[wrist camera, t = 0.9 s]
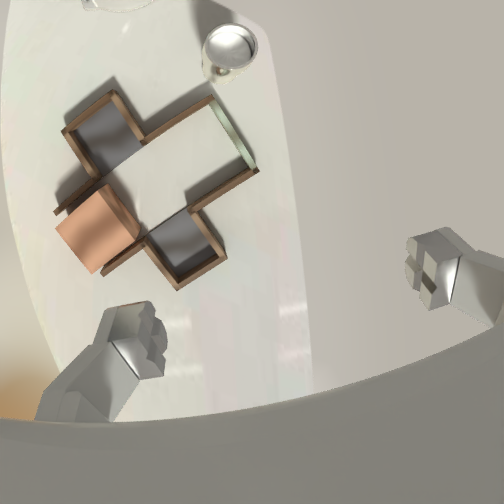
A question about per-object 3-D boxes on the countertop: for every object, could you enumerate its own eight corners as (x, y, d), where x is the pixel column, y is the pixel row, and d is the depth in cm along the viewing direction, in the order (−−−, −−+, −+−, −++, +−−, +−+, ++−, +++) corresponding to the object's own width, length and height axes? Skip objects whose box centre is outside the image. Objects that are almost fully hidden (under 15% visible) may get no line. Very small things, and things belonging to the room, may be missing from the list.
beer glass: (199, 87, 47) (202, 71, 33) (199, 49, 45) (203, 21, 31) (241, 86, 48) (260, 71, 35) (241, 49, 46) (259, 22, 32)
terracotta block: (69, 216, 51) (54, 228, 44) (108, 183, 50) (97, 190, 44) (101, 258, 55) (91, 274, 48) (141, 227, 54) (135, 240, 48)
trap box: (30, 164, 45) (23, 166, 43) (180, 50, 44) (179, 45, 41) (139, 308, 60) (137, 316, 57) (283, 215, 58) (288, 220, 55)
